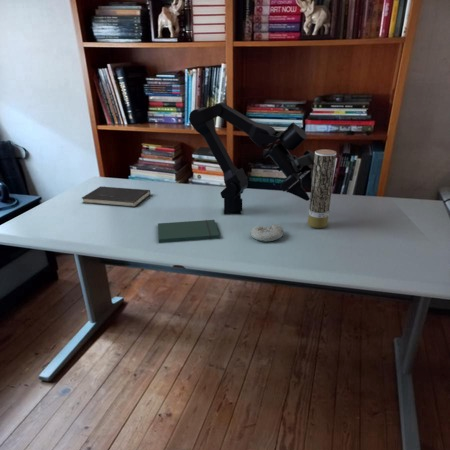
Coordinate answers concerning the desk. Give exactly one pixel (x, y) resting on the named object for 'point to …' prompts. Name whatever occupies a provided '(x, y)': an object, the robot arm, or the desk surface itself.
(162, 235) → the notebook
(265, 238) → the fossil
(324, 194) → the paper tube
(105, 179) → the desk surface
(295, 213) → the desk surface
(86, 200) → the hardcover book
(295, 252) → the desk surface
